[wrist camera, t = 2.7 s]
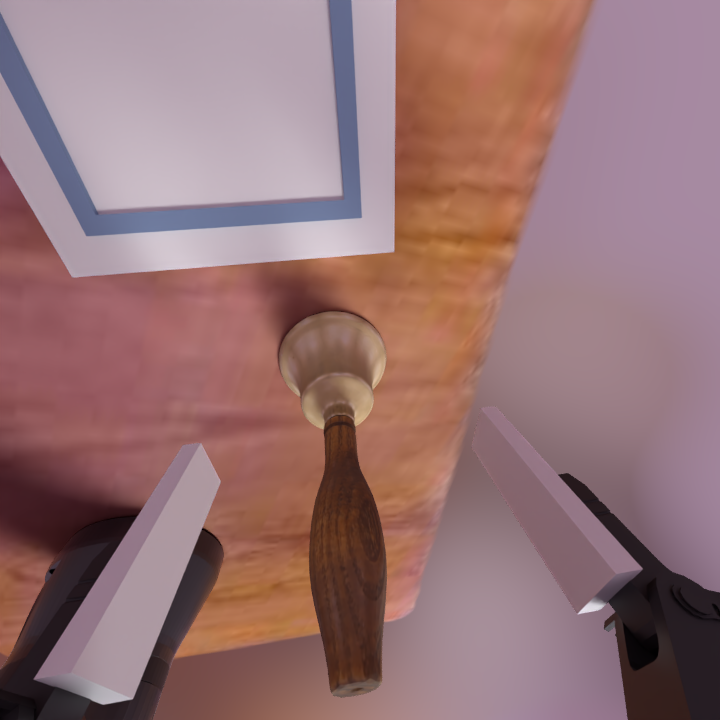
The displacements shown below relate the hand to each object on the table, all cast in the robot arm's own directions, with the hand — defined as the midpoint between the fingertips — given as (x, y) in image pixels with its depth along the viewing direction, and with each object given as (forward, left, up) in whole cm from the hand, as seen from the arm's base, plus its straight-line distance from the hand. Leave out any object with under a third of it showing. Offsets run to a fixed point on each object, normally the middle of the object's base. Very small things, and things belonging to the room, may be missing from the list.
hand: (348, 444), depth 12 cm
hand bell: (0, 0, -9) cm, 9 cm away
